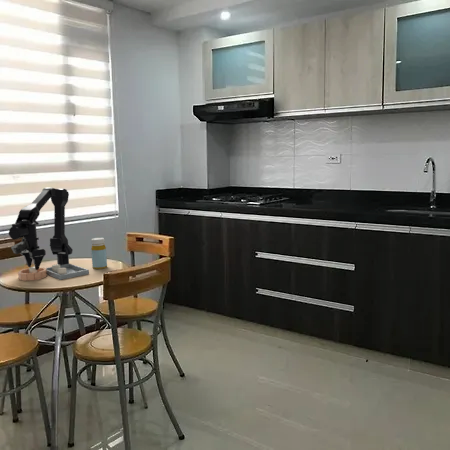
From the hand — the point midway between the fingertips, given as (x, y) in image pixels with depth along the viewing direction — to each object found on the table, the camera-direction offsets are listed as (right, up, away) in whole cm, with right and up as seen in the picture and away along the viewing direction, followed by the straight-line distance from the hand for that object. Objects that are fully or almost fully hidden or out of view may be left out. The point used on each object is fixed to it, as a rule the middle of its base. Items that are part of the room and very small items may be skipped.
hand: (33, 268), depth 223 cm
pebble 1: (0, -4, 0) cm, 4 cm away
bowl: (+1, -4, -1) cm, 4 cm away
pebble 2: (+10, -3, +4) cm, 11 cm away
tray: (+14, -3, +4) cm, 15 cm away
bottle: (+28, -1, +14) cm, 31 cm away
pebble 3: (+15, -4, -3) cm, 16 cm away
